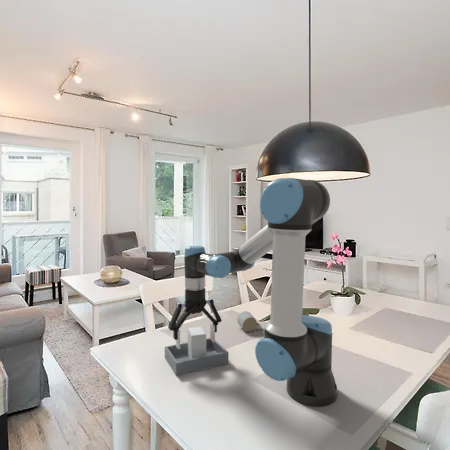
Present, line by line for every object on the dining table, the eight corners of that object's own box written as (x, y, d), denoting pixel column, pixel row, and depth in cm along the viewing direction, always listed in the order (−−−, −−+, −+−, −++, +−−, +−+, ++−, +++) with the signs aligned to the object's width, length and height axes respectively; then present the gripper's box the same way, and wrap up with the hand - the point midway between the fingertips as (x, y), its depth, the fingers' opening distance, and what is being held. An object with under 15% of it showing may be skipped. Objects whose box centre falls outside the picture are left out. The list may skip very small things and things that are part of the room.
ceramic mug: (243, 333, 147) (243, 317, 146) (237, 327, 155) (237, 311, 154) (264, 331, 150) (264, 315, 150) (257, 325, 158) (257, 309, 157)
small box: (206, 362, 118) (206, 334, 118) (191, 364, 117) (191, 335, 116) (202, 352, 126) (201, 326, 125) (187, 354, 125) (187, 327, 124)
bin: (228, 363, 119) (228, 352, 119) (176, 375, 111) (176, 363, 110) (212, 347, 132) (212, 337, 132) (164, 357, 124) (164, 346, 124)
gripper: (221, 282, 129) (221, 334, 130) (159, 289, 118) (160, 346, 119) (230, 286, 122) (230, 341, 123) (164, 294, 111) (165, 355, 112)
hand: (195, 344), depth 121 cm, fingers open, 13 cm apart
